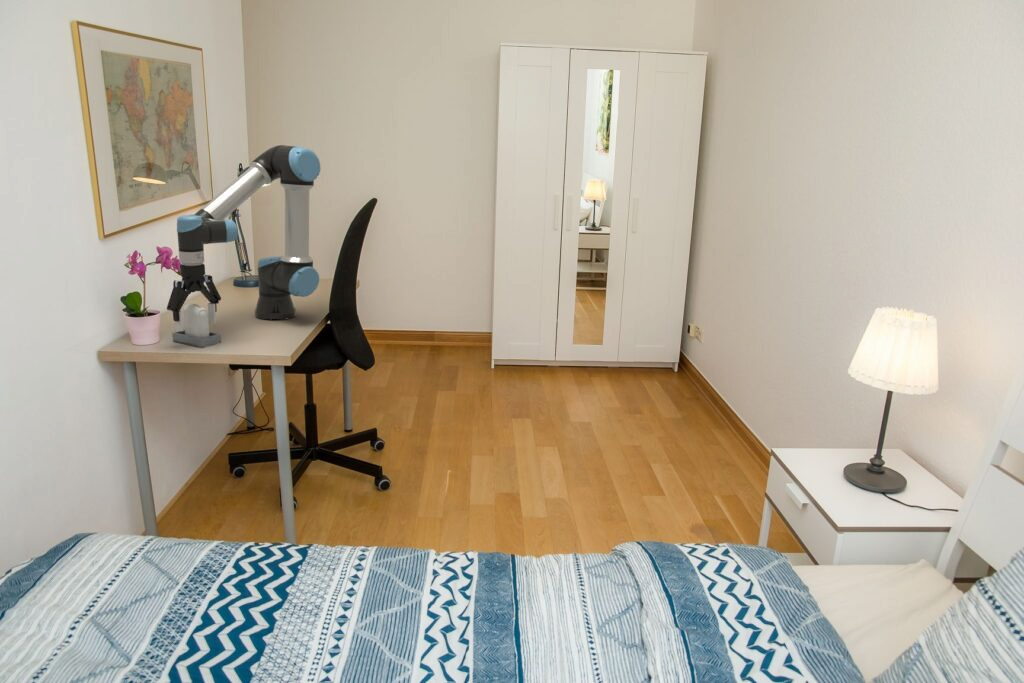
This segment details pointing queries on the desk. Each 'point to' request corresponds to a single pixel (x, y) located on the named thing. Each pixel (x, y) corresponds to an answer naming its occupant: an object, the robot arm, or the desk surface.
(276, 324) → the desk surface
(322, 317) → the desk surface
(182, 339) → the grey rectangular tray
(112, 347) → the desk surface
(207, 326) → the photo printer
